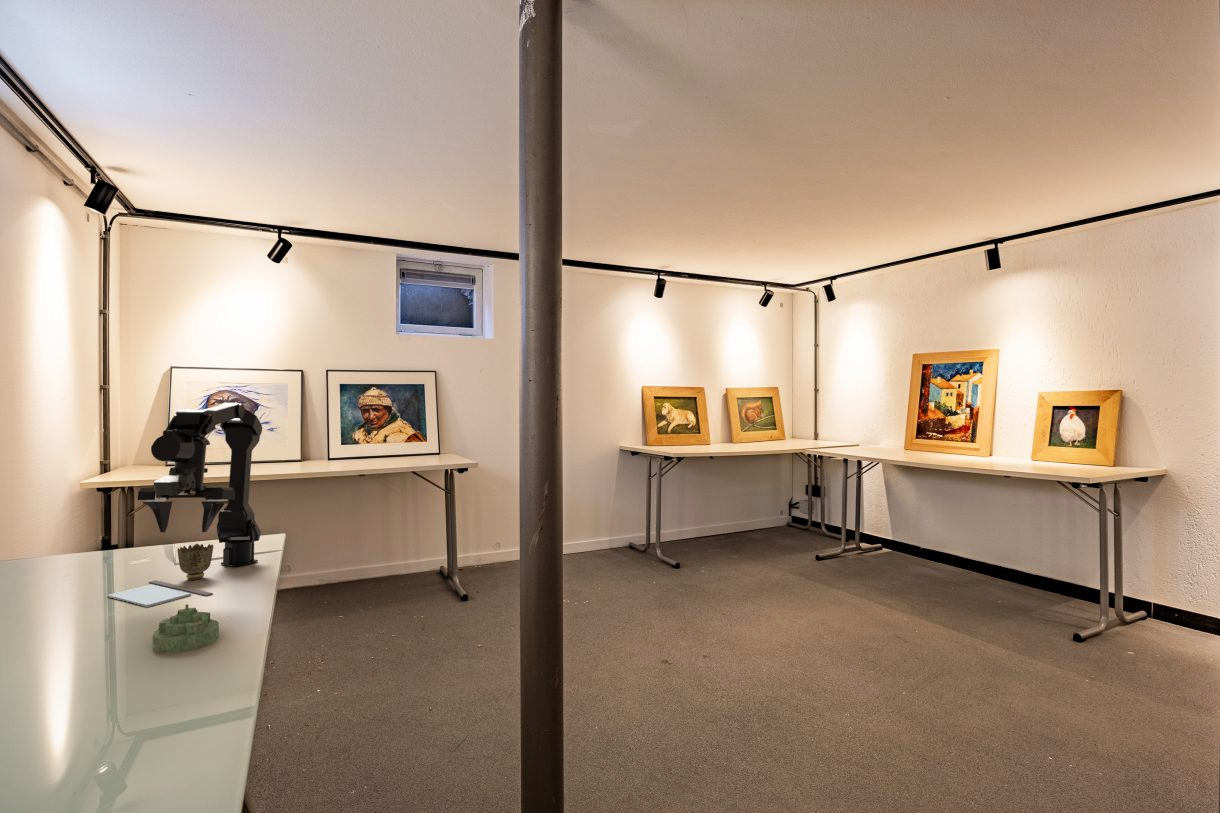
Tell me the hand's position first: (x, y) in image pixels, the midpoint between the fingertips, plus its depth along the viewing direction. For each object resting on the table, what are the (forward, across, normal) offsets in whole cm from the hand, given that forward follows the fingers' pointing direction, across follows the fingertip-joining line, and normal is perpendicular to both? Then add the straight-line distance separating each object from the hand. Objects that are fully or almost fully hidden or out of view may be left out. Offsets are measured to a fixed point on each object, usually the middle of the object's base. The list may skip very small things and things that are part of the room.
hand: (183, 532), depth 137 cm
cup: (+12, -6, +15) cm, 20 cm away
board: (+14, -7, +1) cm, 16 cm away
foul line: (+14, -4, +7) cm, 16 cm away
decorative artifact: (+19, +18, -24) cm, 36 cm away
